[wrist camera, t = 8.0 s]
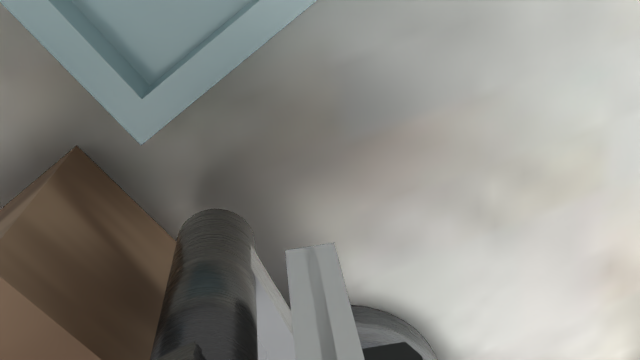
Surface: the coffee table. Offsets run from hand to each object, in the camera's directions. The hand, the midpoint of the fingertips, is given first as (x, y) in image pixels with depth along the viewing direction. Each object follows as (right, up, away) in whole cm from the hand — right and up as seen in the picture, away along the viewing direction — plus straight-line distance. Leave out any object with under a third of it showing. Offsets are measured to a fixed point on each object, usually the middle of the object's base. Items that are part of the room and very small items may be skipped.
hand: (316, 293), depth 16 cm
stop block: (-9, 0, +6) cm, 11 cm away
